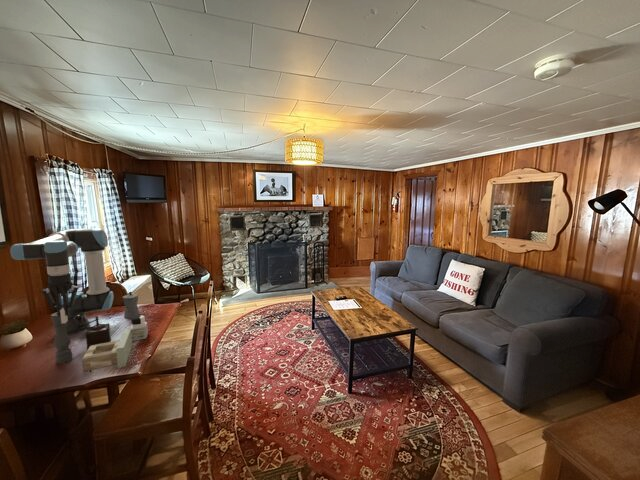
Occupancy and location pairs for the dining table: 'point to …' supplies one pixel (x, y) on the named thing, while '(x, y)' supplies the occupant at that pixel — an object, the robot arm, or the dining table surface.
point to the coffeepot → (131, 305)
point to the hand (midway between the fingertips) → (64, 322)
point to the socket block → (100, 355)
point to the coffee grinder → (95, 332)
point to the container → (139, 328)
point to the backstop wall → (124, 348)
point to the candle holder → (61, 340)
